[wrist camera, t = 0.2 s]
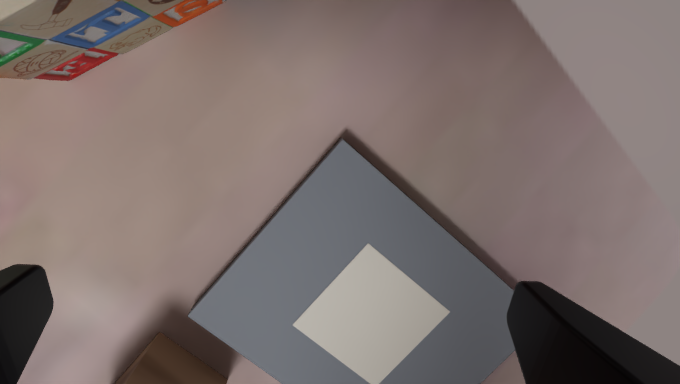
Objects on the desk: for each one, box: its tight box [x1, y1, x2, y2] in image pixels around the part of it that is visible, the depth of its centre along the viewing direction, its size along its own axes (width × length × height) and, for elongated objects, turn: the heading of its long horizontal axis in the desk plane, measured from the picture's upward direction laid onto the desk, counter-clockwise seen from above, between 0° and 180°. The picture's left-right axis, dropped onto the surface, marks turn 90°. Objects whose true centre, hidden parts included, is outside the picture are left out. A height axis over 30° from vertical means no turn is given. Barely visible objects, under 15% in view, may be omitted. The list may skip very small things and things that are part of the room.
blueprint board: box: [188, 138, 515, 384], centre depth 24 cm, size 13×16×1 cm
